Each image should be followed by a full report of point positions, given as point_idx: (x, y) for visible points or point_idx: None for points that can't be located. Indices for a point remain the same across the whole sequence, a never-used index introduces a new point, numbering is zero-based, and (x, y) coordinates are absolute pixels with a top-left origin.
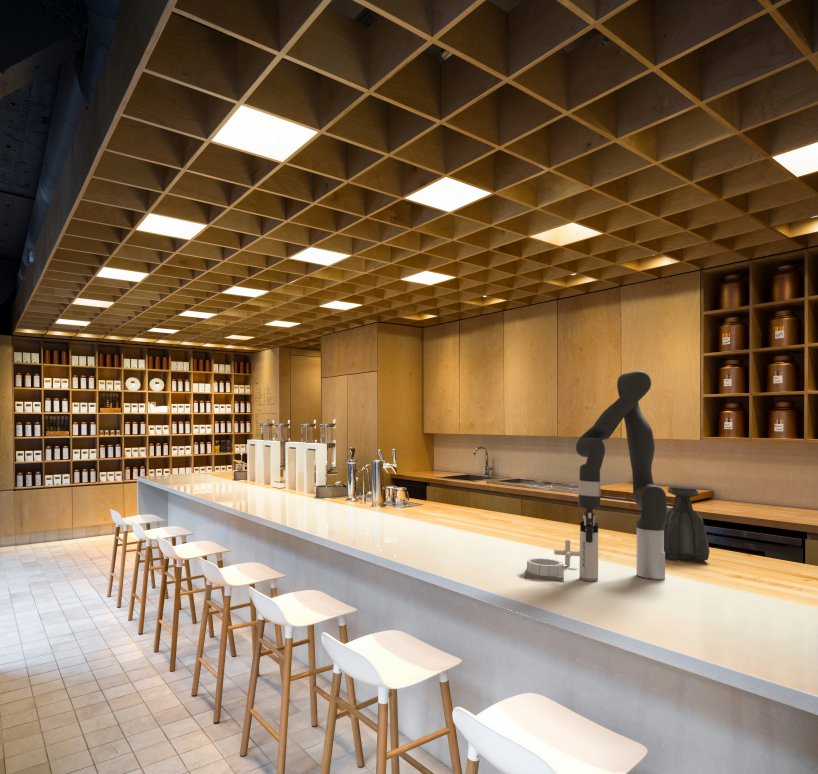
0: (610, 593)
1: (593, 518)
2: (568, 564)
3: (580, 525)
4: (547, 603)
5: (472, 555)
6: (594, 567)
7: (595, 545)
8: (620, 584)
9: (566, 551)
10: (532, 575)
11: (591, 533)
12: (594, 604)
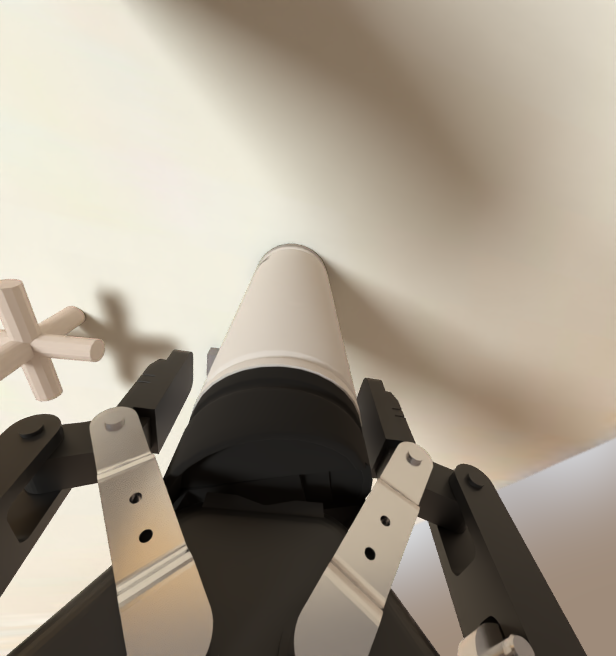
0: (497, 245)
1: (386, 591)
2: (75, 317)
3: None
4: (567, 430)
5: (90, 525)
6: (329, 285)
7: (338, 335)
8: (348, 149)
9: (34, 356)
10: None
11: (396, 434)
12: (610, 331)
